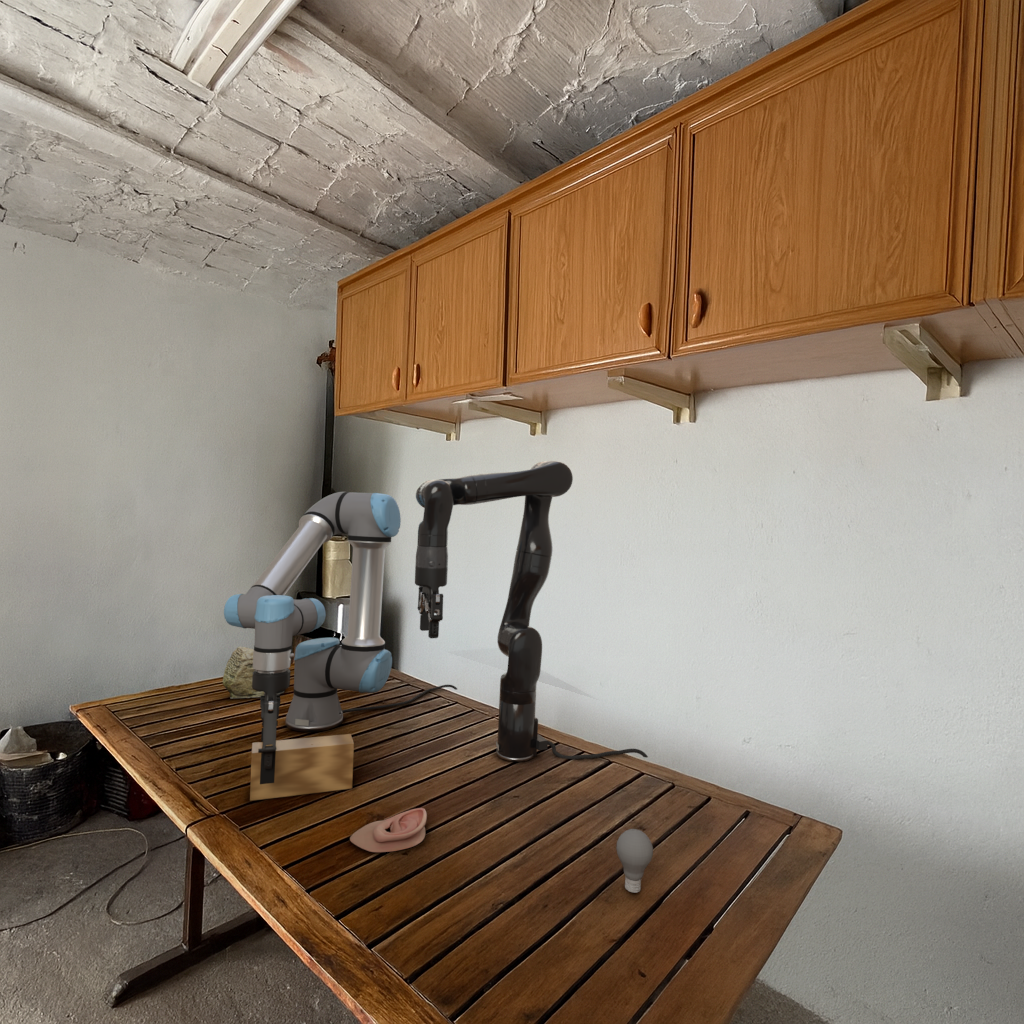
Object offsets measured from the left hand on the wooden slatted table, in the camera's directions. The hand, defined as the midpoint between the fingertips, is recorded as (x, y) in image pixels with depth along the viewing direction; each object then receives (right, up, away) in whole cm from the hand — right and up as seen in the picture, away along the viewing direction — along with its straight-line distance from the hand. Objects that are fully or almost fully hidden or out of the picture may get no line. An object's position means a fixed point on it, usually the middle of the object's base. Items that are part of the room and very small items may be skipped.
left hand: (266, 769), depth 134 cm
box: (+6, -5, +3) cm, 9 cm away
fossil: (-29, -3, +64) cm, 70 cm away
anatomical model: (+29, -7, -15) cm, 33 cm away
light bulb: (+72, -9, -28) cm, 78 cm away
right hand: (+32, +26, +14) cm, 44 cm away
